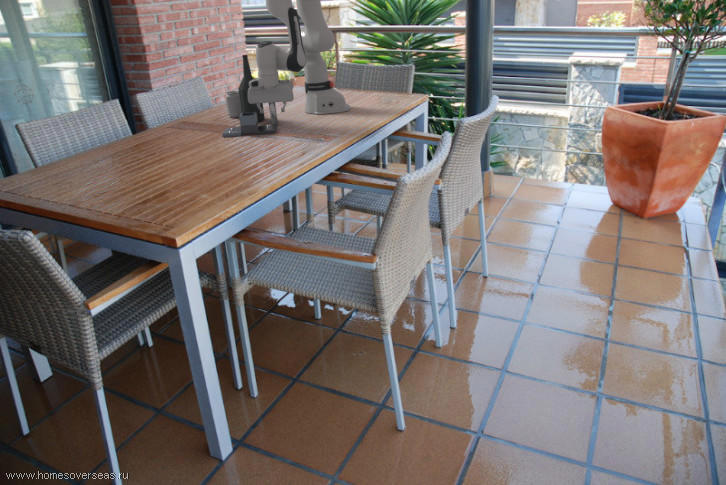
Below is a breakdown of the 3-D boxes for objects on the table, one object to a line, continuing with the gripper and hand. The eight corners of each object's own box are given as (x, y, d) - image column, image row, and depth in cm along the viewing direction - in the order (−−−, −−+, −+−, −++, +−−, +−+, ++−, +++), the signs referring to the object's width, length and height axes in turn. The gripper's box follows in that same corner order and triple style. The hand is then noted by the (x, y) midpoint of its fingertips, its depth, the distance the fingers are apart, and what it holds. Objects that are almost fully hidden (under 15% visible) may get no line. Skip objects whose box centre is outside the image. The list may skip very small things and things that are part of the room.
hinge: (277, 127, 255) (274, 109, 252) (275, 133, 246) (272, 115, 243) (226, 131, 255) (223, 113, 251) (222, 137, 246) (219, 118, 242)
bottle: (259, 123, 265) (250, 56, 252) (240, 123, 267) (230, 56, 254) (267, 118, 274) (259, 52, 261) (248, 118, 276) (239, 53, 263)
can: (245, 114, 284) (242, 89, 279) (241, 118, 277) (237, 93, 272) (231, 114, 285) (227, 90, 280) (226, 118, 278) (222, 93, 273)
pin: (278, 124, 260) (275, 98, 255) (277, 126, 258) (274, 99, 252) (271, 125, 260) (268, 98, 255) (271, 126, 258) (267, 100, 252)
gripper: (293, 78, 253) (296, 109, 259) (246, 81, 253) (251, 112, 259) (292, 80, 248) (295, 112, 254) (245, 83, 247) (249, 115, 253)
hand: (272, 112), depth 256 cm, fingers open, 8 cm apart
